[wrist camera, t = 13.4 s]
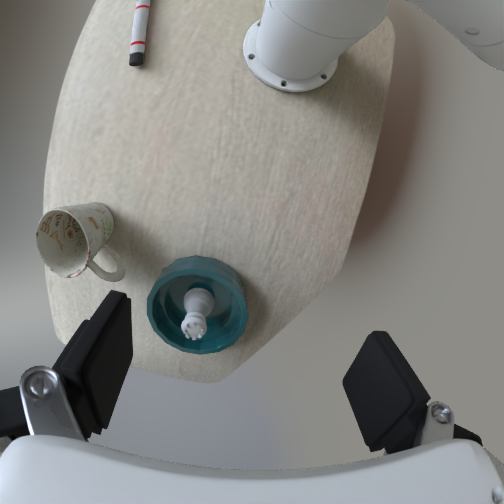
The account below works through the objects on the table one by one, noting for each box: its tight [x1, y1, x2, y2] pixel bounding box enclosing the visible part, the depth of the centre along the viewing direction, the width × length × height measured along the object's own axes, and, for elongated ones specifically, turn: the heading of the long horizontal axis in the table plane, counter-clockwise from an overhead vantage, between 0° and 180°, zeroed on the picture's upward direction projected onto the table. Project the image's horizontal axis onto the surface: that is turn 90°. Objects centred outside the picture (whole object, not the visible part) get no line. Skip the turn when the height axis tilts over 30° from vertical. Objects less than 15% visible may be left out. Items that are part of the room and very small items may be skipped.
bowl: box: [147, 256, 248, 354], centre depth 37 cm, size 14×14×5 cm
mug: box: [36, 202, 125, 282], centre depth 30 cm, size 8×13×10 cm, turn 43°
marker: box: [129, 0, 150, 66], centre depth 24 cm, size 15×2×2 cm, turn 1°
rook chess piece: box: [181, 288, 214, 340], centre depth 35 cm, size 4×4×8 cm
